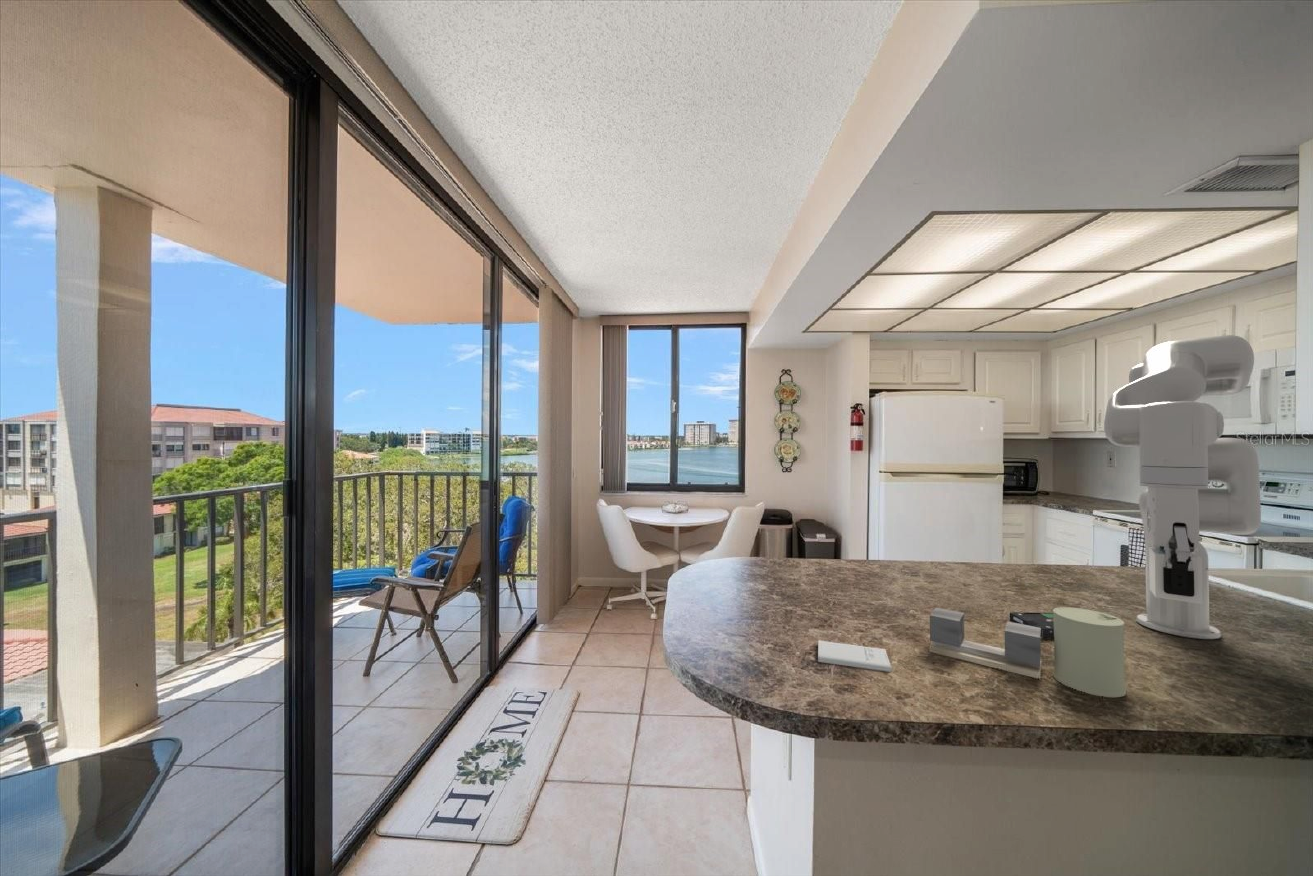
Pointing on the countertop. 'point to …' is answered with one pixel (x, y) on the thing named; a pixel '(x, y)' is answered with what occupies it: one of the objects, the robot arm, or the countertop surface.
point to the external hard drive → (853, 656)
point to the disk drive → (1036, 621)
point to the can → (1089, 651)
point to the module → (1156, 576)
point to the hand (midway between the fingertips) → (1174, 588)
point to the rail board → (1016, 656)
